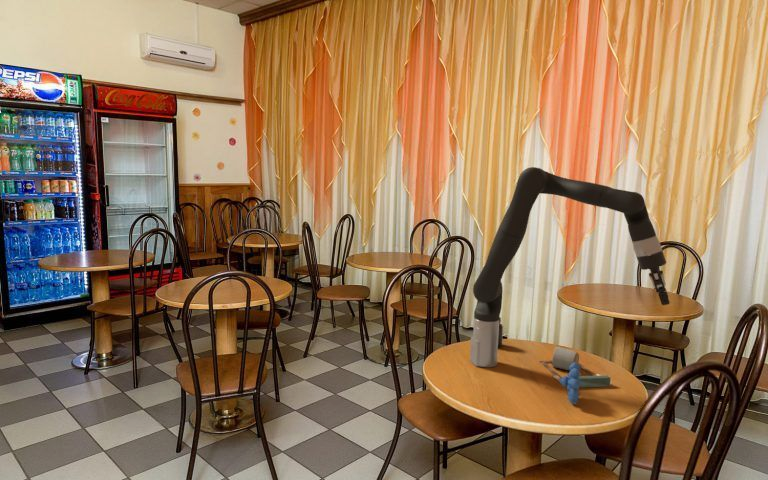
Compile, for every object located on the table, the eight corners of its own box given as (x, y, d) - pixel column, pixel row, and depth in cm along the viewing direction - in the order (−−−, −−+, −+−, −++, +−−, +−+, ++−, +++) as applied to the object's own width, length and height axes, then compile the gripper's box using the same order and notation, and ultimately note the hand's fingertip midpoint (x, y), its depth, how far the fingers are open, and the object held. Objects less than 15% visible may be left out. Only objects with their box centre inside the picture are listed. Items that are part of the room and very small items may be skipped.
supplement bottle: (504, 344, 205) (505, 316, 203) (498, 349, 199) (500, 320, 198) (488, 341, 208) (490, 314, 207) (482, 346, 203) (484, 317, 201)
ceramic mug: (574, 374, 174) (576, 353, 174) (551, 369, 179) (552, 349, 178) (580, 366, 183) (582, 346, 183) (558, 361, 188) (559, 341, 187)
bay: (536, 362, 186) (536, 354, 185) (578, 360, 188) (578, 353, 188) (565, 387, 163) (566, 379, 163) (613, 386, 165) (614, 377, 165)
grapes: (558, 391, 160) (560, 355, 159) (580, 394, 158) (582, 358, 157) (558, 406, 150) (560, 368, 148) (581, 410, 147) (584, 372, 146)
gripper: (636, 252, 163) (652, 299, 162) (635, 258, 150) (652, 309, 149) (661, 246, 159) (677, 294, 158) (662, 251, 147) (680, 303, 146)
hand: (665, 301), depth 154 cm, fingers open, 8 cm apart
